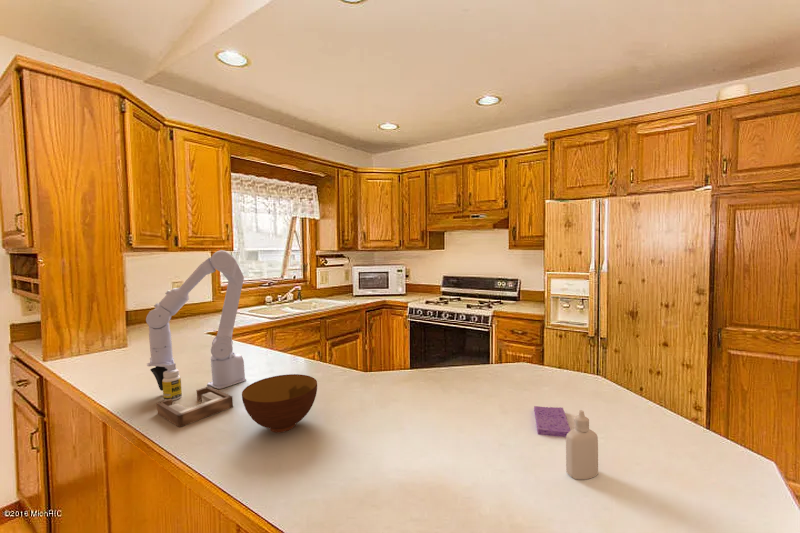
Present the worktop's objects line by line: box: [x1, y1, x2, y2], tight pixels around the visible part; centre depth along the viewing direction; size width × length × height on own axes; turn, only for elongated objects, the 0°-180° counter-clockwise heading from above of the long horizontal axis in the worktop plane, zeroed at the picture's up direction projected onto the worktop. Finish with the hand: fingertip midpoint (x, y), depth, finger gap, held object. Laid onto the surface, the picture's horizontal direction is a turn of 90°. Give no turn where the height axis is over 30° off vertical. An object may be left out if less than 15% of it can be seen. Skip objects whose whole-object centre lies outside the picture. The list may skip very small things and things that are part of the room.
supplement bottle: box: [162, 368, 183, 402], centre depth 112 cm, size 5×5×8 cm
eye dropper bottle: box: [565, 409, 599, 481], centre depth 68 cm, size 4×6×12 cm
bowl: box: [241, 373, 318, 433], centre depth 92 cm, size 18×18×10 cm
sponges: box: [533, 405, 571, 438], centre depth 88 cm, size 7×13×2 cm, turn 164°
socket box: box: [156, 385, 234, 428], centre depth 103 cm, size 14×14×3 cm
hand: (164, 389), depth 116 cm, fingers closed
